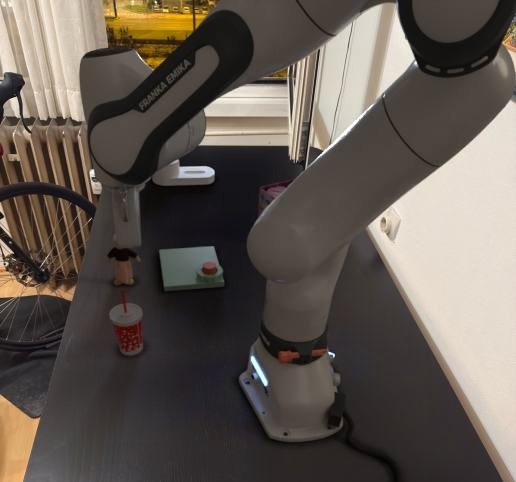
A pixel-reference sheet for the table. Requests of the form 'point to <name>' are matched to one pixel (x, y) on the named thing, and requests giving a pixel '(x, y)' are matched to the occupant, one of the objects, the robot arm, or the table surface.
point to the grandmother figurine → (122, 263)
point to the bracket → (183, 175)
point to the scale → (189, 268)
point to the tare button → (209, 268)
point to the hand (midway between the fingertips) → (132, 242)
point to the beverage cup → (128, 327)
